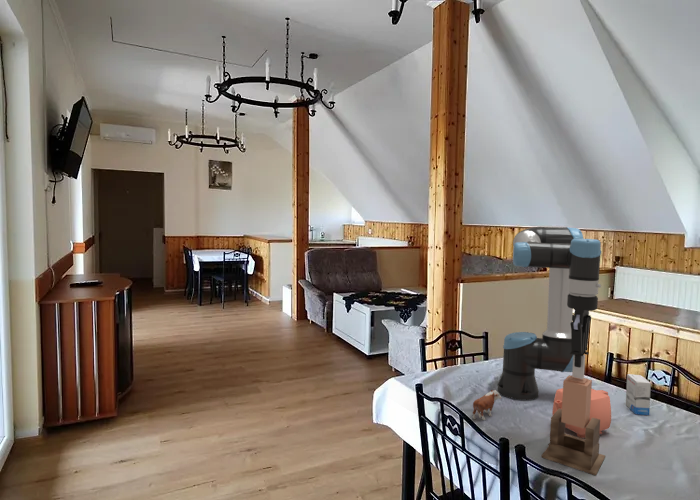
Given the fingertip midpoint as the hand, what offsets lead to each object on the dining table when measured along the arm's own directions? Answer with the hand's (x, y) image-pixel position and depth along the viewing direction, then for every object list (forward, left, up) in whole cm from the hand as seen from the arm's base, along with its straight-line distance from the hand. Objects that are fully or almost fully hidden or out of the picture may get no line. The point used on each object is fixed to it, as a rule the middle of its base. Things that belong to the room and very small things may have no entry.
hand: (578, 377), depth 128 cm
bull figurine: (-30, +9, -24) cm, 39 cm away
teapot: (-3, +20, -24) cm, 31 cm away
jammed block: (0, 0, -13) cm, 13 cm away
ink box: (+9, +50, -24) cm, 56 cm away
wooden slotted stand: (0, 0, -24) cm, 24 cm away
